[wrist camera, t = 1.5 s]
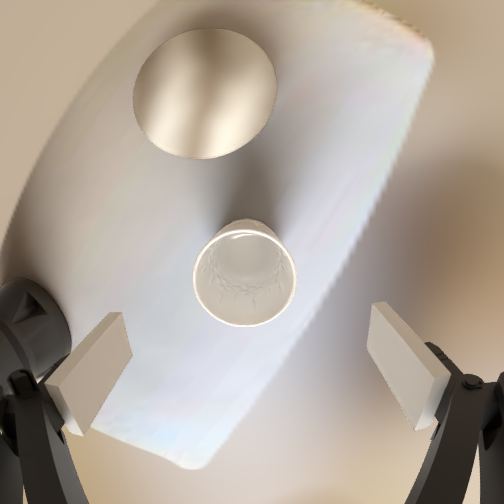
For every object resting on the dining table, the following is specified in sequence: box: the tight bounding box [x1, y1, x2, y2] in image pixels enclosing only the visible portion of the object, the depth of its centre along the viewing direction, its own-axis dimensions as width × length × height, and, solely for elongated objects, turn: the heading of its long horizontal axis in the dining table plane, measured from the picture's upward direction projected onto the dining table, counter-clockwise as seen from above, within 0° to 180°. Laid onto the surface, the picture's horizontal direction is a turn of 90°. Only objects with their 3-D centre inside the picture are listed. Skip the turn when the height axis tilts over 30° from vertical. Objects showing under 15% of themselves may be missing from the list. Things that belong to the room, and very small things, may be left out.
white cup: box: [193, 218, 297, 327], centre depth 27 cm, size 8×8×10 cm
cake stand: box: [133, 28, 277, 159], centre depth 25 cm, size 13×13×6 cm
